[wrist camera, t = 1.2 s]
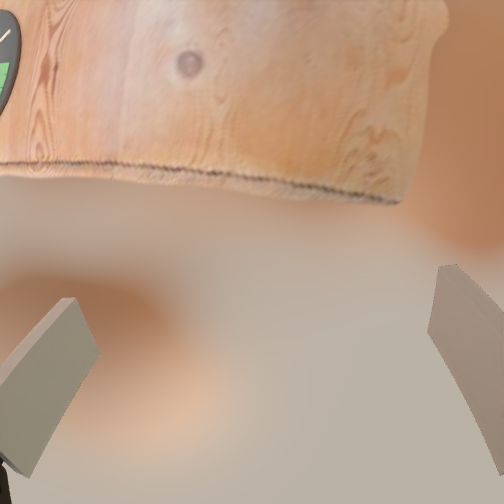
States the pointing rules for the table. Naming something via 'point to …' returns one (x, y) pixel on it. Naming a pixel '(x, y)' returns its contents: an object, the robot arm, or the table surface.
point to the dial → (8, 54)
